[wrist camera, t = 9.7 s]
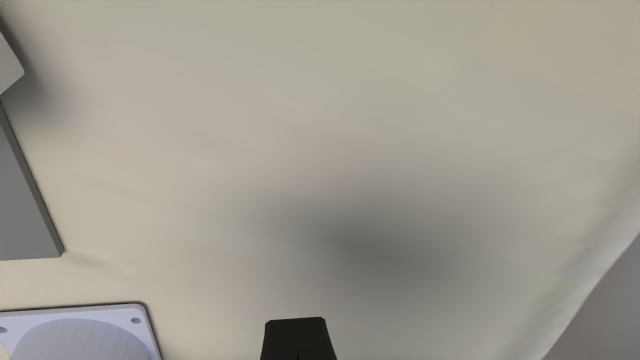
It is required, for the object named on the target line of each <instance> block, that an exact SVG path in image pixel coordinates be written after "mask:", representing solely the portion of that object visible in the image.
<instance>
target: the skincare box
mask: <svg viewBox="0 0 640 360" xmlns="http://www.w3.org/2000/svg"><path fill="white" fill-rule="evenodd" d="M23 75H24V69H23V67H22V66H21V64H20V62H19V60H18V58H17V57H16V55H15V54H14V52H13V50H12V49H11V47H10V46H9V44H8V43H7V41H6V40H5V38H4V36H3V35H2V33H1V32H0V94H2V93H3V92H4V91H5V90H6V89H8V88H9V87H10V86H11V85H12V84H13V83H14V82H16V81H17V80H18V79H19V78H21V77H22V76H23Z"/></svg>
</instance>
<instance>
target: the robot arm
mask: <svg viewBox="0 0 640 360" xmlns="http://www.w3.org/2000/svg"><path fill="white" fill-rule="evenodd" d="M0 342H1V343H2V345H3V346H4V348H5V349H6V351H7V352H8V354H9V355H10V359H9V360H161V357H160V354H159V351H158V348H157V344H156V341H155V338H154V335H153V332H152V329H151V326H150V323H149V320H148V317H147V314H146V311H145V308H144V307H143V306H141V305H139V304H121V305H106V306H91V307H76V308H61V309H46V310H30V311H15V312H0ZM260 360H337V358H336V355H335V352H334V349H333V347H332V344H331V341H330V337H329V334H328V330H327V327H326V322H325V319H323V318H322V317H309V318H295V319H281V320H270V321H268V322H267V323H266V324H265V335H264V341H263V348H262V353H261V358H260Z"/></svg>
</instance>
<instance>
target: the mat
mask: <svg viewBox="0 0 640 360" xmlns="http://www.w3.org/2000/svg"><path fill="white" fill-rule="evenodd" d="M63 251H64V249H63V246H62V244H61V242H60V239H59V237H58V235H57V232H56V230H55V228H54V226H53V223H52V221H51V219H50V216H49V214H48V212H47V210H46V207H45V205H44V203H43V200H42V198H41V196H40V194H39V191H38V189H37V187H36V184H35V182H34V180H33V178H32V175H31V173H30V171H29V168H28V166H27V164H26V161H25V159H24V157H23V155H22V152H21V150H20V148H19V145H18V143H17V141H16V139H15V136H14V134H13V132H12V129H11V127H10V125H9V123H8V120H7V118H6V116H5V113H4V111H3V109H2V107H1V104H0V261H2V260H20V259H38V258H56V257H61V255H62V253H63Z"/></svg>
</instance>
